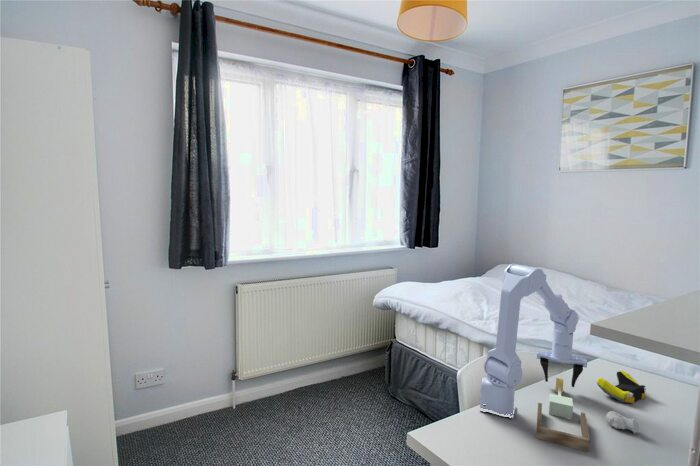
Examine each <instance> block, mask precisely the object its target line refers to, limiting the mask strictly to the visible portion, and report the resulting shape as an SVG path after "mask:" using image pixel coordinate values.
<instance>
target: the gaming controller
mask: <svg viewBox="0 0 700 466" xmlns="http://www.w3.org/2000/svg"><path fill="white" fill-rule="evenodd" d="M616 378H617V382H618V384H616V385H613V384H611V382H609V381H608V380H606V379H605V378H603V377H598V378H597V380H596V384H597V386H598V387H599V388H600V390H601V391H602V392H603V393H604V394H606V395H608V396H610V397H612V398H614V399H615V400H616V401H618V402H620V403H629V404H631V403H632V404H635V403H636V402H638V401H641V400H645V398H646V390H647V389H648V387H647V386H646V385H643V384H641V385H640V383H638V382H637V381H636V380H635V379H634V378H633V377H632V376H631V374H629V373H628V372H626V371H624V370H618V371H616Z"/></svg>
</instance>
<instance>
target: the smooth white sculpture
mask: <svg viewBox="0 0 700 466" xmlns="http://www.w3.org/2000/svg"><path fill="white" fill-rule="evenodd" d="M605 420H606V422H607V424H608V425H609V426H610V427H612V428H614V429H621V430H626V429H627V430H630V431H631V432H632V433H633V434H634V435H635V434H639V431H640V424H639V421H638V420H637V419H636V418H628V417H625V416H623V415H622V414H620V413H619V412H616V411H614V410H611V411H608V412H607V413H606V415H605Z"/></svg>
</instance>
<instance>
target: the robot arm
mask: <svg viewBox="0 0 700 466" xmlns="http://www.w3.org/2000/svg"><path fill="white" fill-rule="evenodd" d="M535 292H536V293H537V295H539V297H541V299H542V305H543V306H544V307H545V309H546V310H547V311H548V313H549V318H550V319H549V320H550V321H551V322H553V331H552V332H553V333H552V346H551V351H550V352H549V351H539V350H538V351H536V359H537V360H539V362H540V365H541V369H542V370H543V374H544V378H545V379H544V382H549V361H552V362H558V363H563V364H569V365H572V377H571V382H570V383H571V387H572V388H575V385H576V382H577V380H578V378H579V376H580V375H581V374H582V373H583V370H584V368H586V369H587V368H588V359H585V358H581V357H577V356H574V355H572V354H573V345H574V344H573V343H574V342H573V340H574V333H575V331H576V329H577V328H576V327H577V325H578V323H579V314H578V313H577V312H576V310H575V309H571V308H570V307H569V305H568V303H567V302H565V300H564V299H563V296H562V294H560V293H557V292H553V290H552V288H551V287H550V285H549V284H548V282H547V275H546V274H545V272H544V270H543V269H541V268H538V267H537V268H536V267H531V266H526V265H521V264H518V263H511V264H509V265H508V266H507V267H506V268H505V269H504V271H503V279H502V287H501V293H500V300H499V301H500V302H499V312H498V322H497V330H496V331H497V332H496V342H495V347H494V348H492V349H490V350H488V351H487V354H486V358H485V361H484V364H483V370H484V372H485V373H486V374H487V376H486V377H482V378H481V379H482V380H481V385H480V397H479V402H480V403H479V409H480V408H483V409H488V410H492V411H494V412H497V413H499V414H504V415H506V414H507V415H508V414H510V416H512V415H513V417H511V418H514V419H515V415H516V408H514V406H516V405H515V394H516V393H515V392H516V386H518V385H519V384H520V383H521V382H522V379H523V369H522V360H521V359H520V357H519V355H518V354H517V352H516V350H517V349H516V347H517V338H518V330H519V321H520V320H519V319H520V310H521V309H520V307H521V301H522V299H523V298H524V297H528V296H530V295H532V294H533V293H535ZM483 404H486V405H483ZM513 410H515V411H514V414H515V415H514V414H513ZM511 413H512V414H511Z"/></svg>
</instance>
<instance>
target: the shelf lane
mask: <svg viewBox="0 0 700 466" xmlns="http://www.w3.org/2000/svg"><path fill="white" fill-rule="evenodd" d="M542 409H543V403H541V402H537V414H536V415H537V417H536V433H535V434H536V435H535V438H536V439H539V440H541V439H542V441H545V442H549V443H552V444H553V443H554V444H557V445H561V446H565V447H568V448H572V449H576V450H580V451H583V452H584V451H585V452H590V451H589V450H590V436H589V429H588V424H587V418H586V413H585V412H580V420H579V423H580V430H581V436H580V435H576V434H571V433H568V432H564V431H560V430H556V429H552V428H548V427H546V426H542V415H543V410H542Z"/></svg>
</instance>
